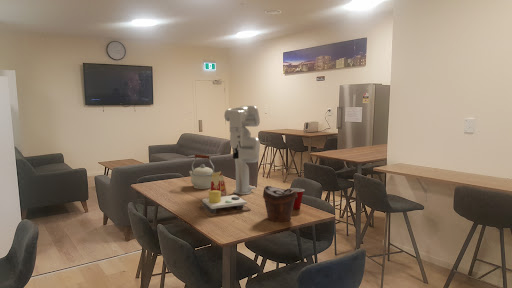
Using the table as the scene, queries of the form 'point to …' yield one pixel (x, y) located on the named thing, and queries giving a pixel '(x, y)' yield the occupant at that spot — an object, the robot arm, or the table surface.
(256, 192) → the table surface
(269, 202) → the brown flower pot
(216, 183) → the milk carton
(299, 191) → the plastic cup
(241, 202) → the instrument plate
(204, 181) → the kettle
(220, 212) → the leveling stand
